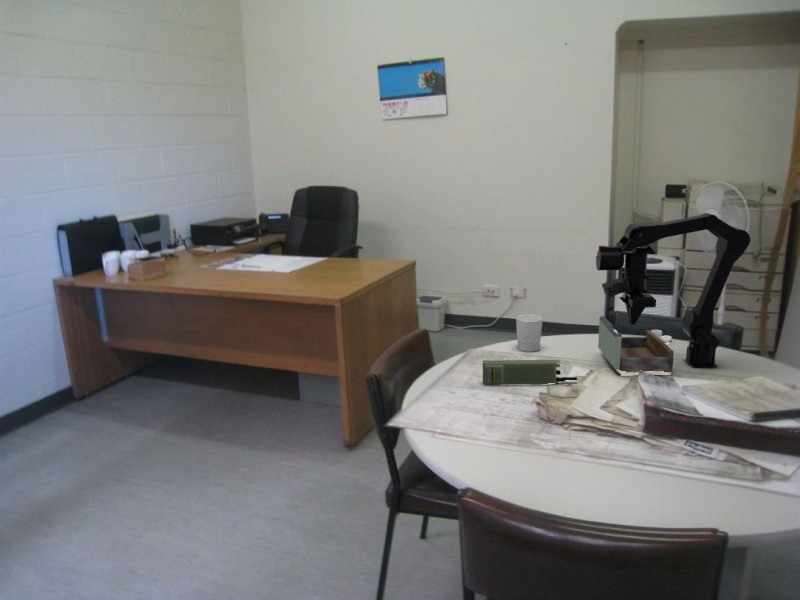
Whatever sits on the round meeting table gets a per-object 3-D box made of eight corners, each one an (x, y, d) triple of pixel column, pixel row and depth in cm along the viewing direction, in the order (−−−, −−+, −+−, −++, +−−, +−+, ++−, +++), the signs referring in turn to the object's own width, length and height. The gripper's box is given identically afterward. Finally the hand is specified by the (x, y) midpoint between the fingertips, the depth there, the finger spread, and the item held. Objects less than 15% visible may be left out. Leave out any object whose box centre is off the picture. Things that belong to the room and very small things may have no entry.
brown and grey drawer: (648, 352, 187) (649, 330, 186) (671, 375, 169) (673, 351, 167) (602, 353, 188) (603, 331, 186) (621, 376, 170) (622, 352, 168)
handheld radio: (482, 381, 171) (575, 381, 168) (483, 386, 167) (578, 386, 165) (482, 359, 169) (576, 358, 166) (483, 363, 165) (579, 363, 163)
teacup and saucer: (670, 340, 199) (671, 328, 198) (673, 348, 191) (674, 335, 190) (641, 338, 201) (642, 326, 200) (643, 346, 194) (643, 334, 193)
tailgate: (602, 347, 187) (604, 315, 185) (620, 368, 170) (622, 334, 167) (597, 347, 187) (598, 315, 185) (614, 369, 170) (616, 334, 167)
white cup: (543, 352, 191) (544, 321, 188) (518, 353, 191) (518, 321, 188) (538, 344, 198) (539, 314, 196) (514, 344, 199) (514, 314, 196)
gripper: (597, 263, 181) (594, 315, 185) (615, 277, 163) (612, 334, 167) (636, 262, 181) (632, 314, 185) (658, 276, 163) (654, 333, 166)
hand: (632, 323), depth 176 cm, fingers closed
